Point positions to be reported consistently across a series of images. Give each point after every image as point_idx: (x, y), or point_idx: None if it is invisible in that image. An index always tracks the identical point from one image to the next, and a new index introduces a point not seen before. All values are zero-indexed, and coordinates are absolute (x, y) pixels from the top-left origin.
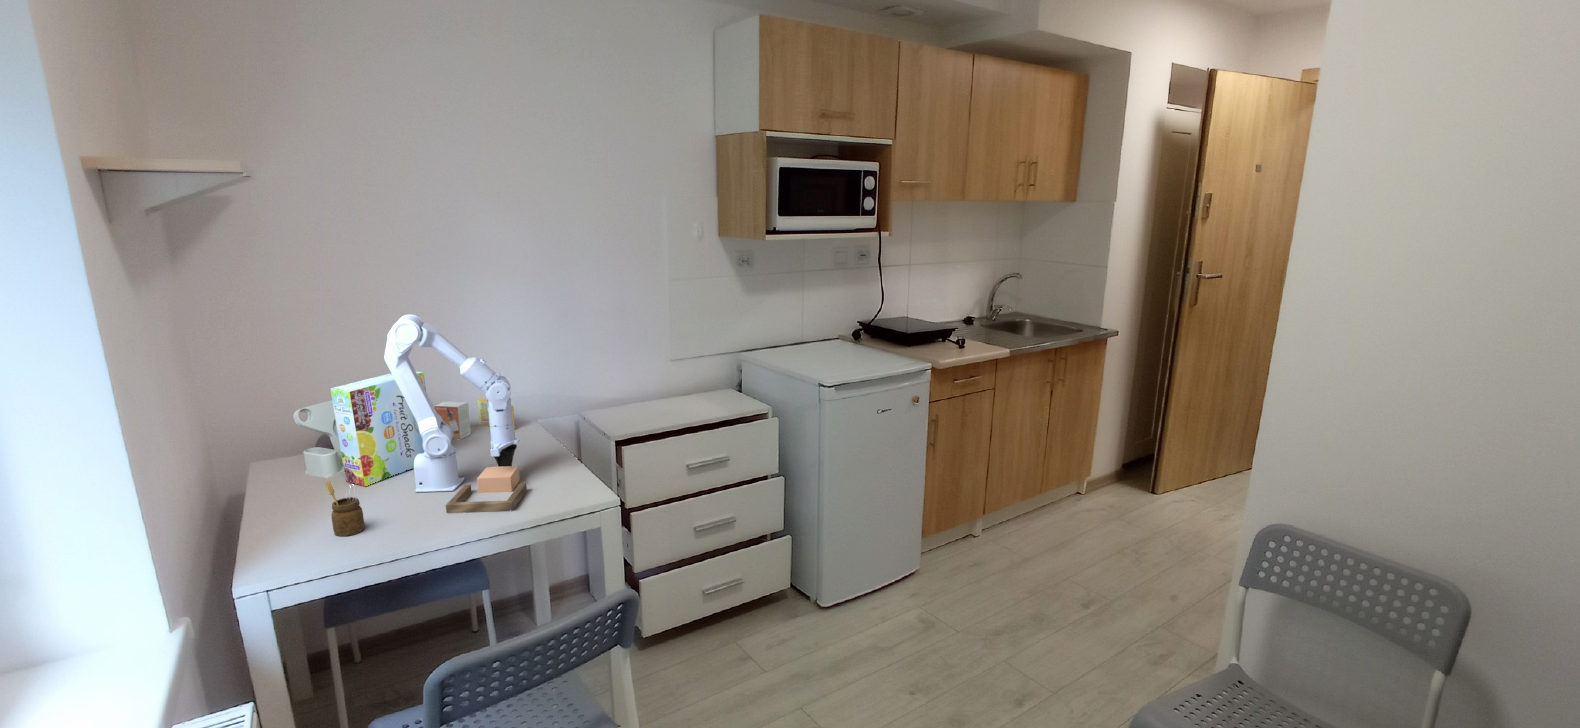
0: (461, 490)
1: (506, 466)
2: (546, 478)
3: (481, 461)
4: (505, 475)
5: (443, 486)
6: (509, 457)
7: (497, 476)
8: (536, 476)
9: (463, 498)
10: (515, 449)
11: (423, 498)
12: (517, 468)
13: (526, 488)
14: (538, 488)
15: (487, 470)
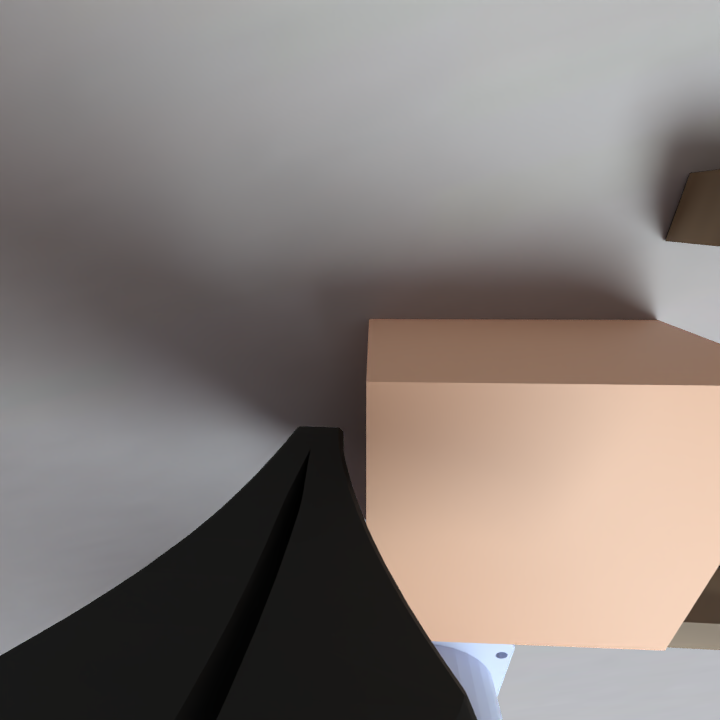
0: (676, 639)
1: (371, 505)
2: (355, 4)
3: (44, 606)
4: (714, 456)
5: (495, 692)
6: (405, 602)
7: (699, 525)
8: (285, 169)
9: (707, 584)
10: (60, 637)
11: (558, 697)
12: (431, 375)
13: (717, 171)
14: (684, 28)
15: (465, 622)
